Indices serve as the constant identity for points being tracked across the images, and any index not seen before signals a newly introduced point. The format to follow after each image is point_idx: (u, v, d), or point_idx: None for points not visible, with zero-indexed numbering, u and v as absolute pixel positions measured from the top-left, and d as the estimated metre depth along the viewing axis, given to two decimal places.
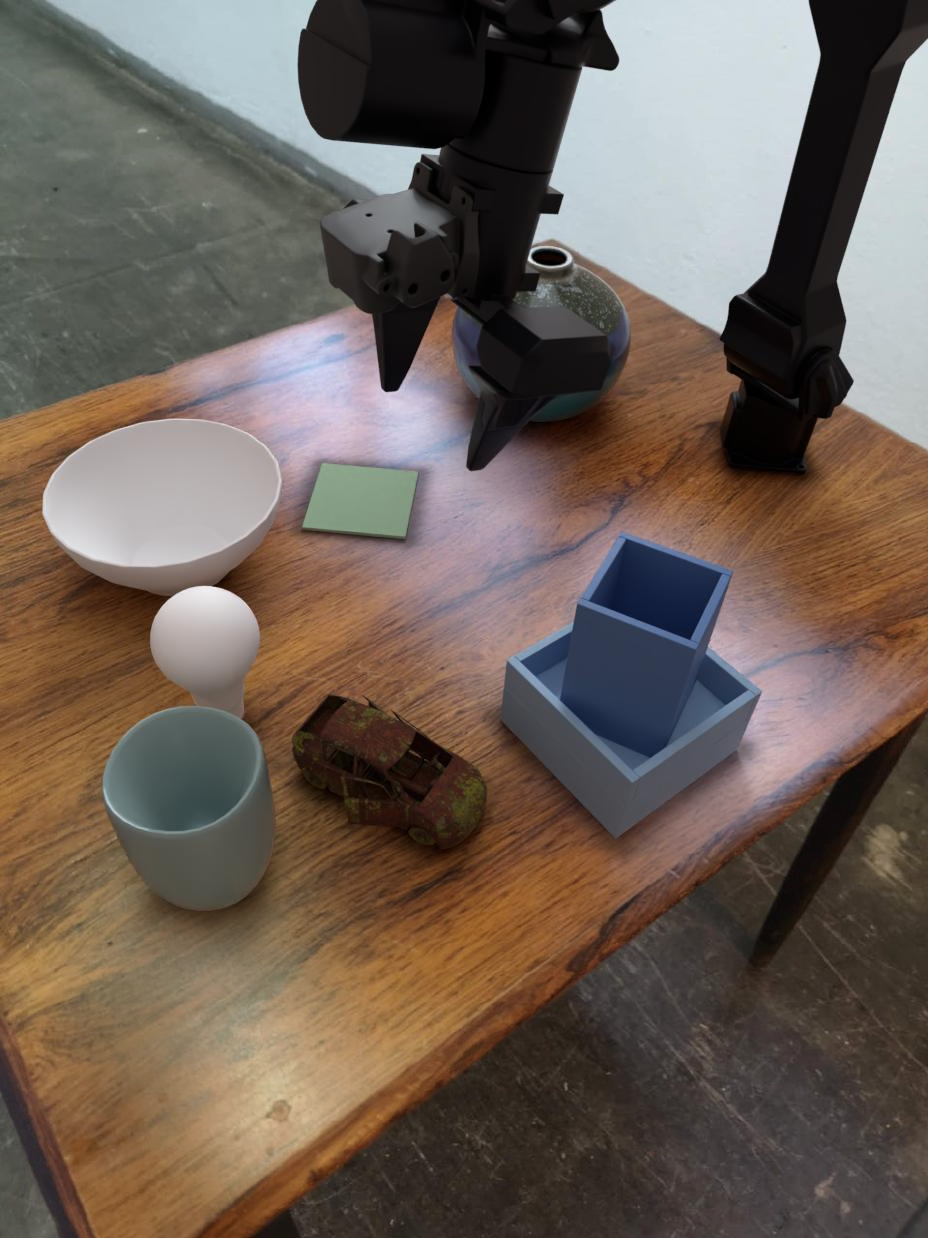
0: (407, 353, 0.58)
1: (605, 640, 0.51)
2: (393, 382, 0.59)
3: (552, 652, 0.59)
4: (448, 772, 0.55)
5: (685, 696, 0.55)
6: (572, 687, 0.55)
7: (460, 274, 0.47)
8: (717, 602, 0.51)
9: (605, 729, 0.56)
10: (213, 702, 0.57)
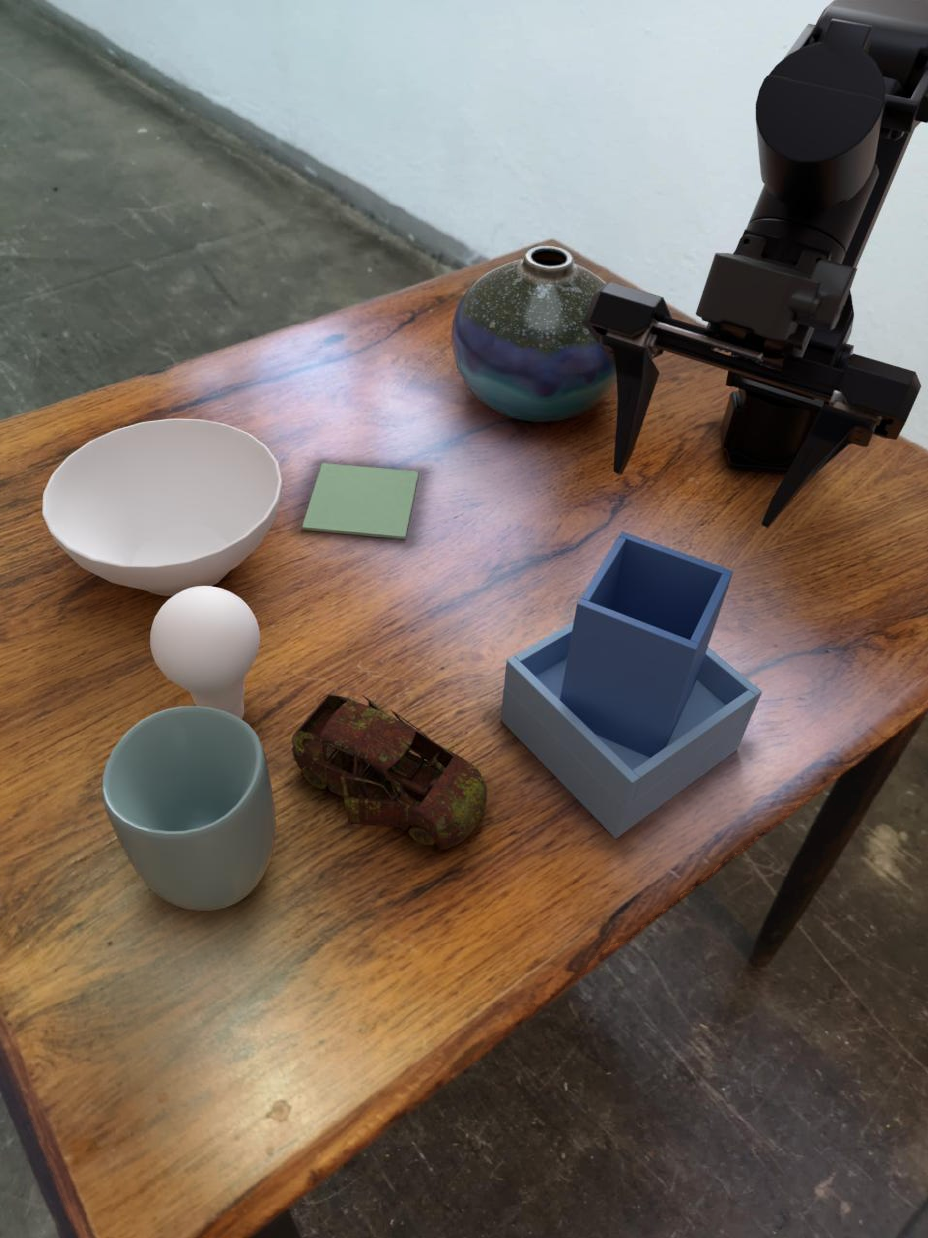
0: (635, 436, 0.58)
1: (605, 640, 0.51)
2: (624, 464, 0.58)
3: (552, 652, 0.59)
4: (448, 772, 0.55)
5: (685, 696, 0.55)
6: (572, 687, 0.55)
7: None
8: (717, 602, 0.51)
9: (605, 729, 0.56)
10: (213, 702, 0.57)
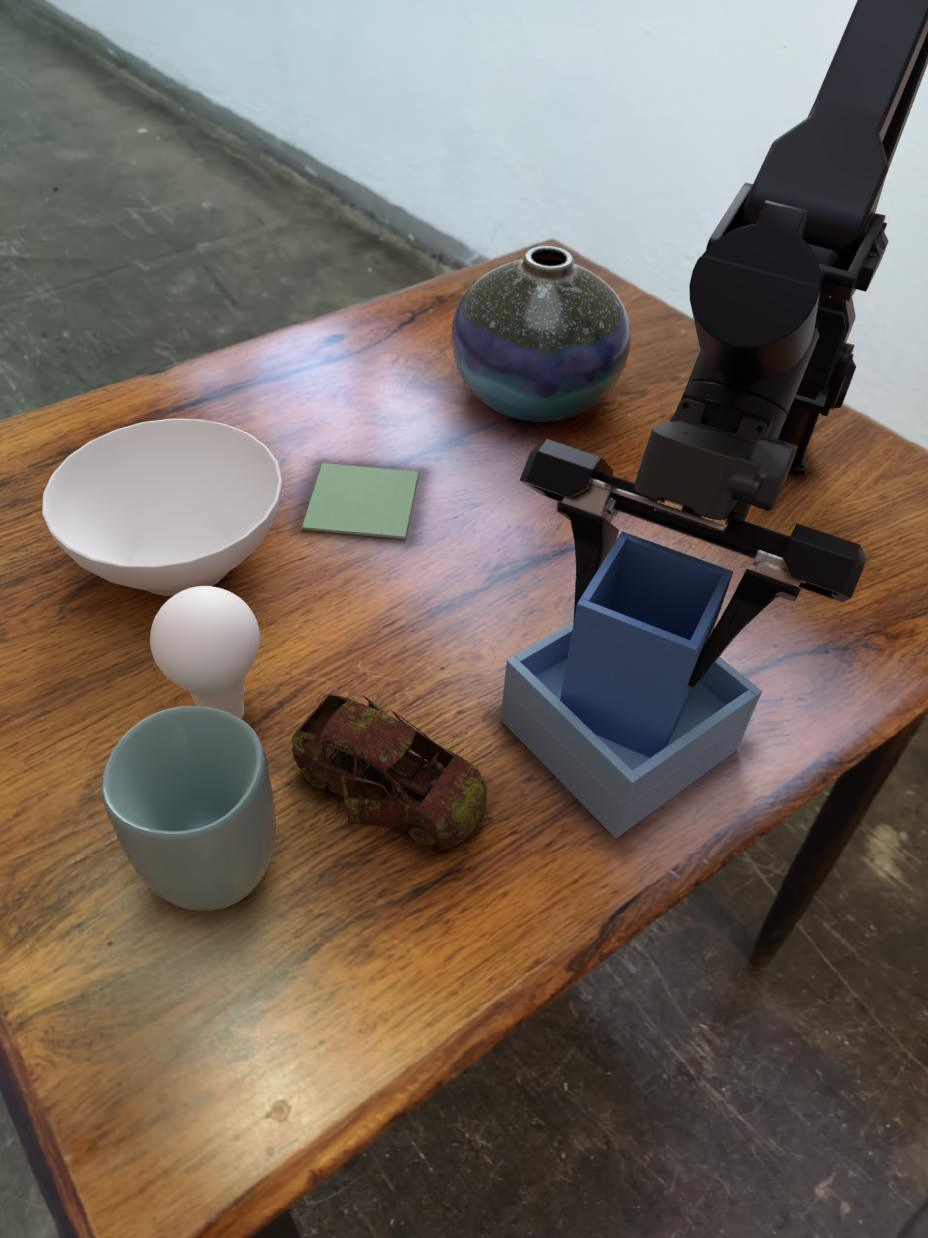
0: None
1: (605, 641, 0.51)
2: None
3: (552, 652, 0.59)
4: (448, 772, 0.55)
5: (685, 696, 0.55)
6: (572, 687, 0.55)
7: None
8: (717, 602, 0.51)
9: (605, 729, 0.56)
10: (213, 702, 0.57)
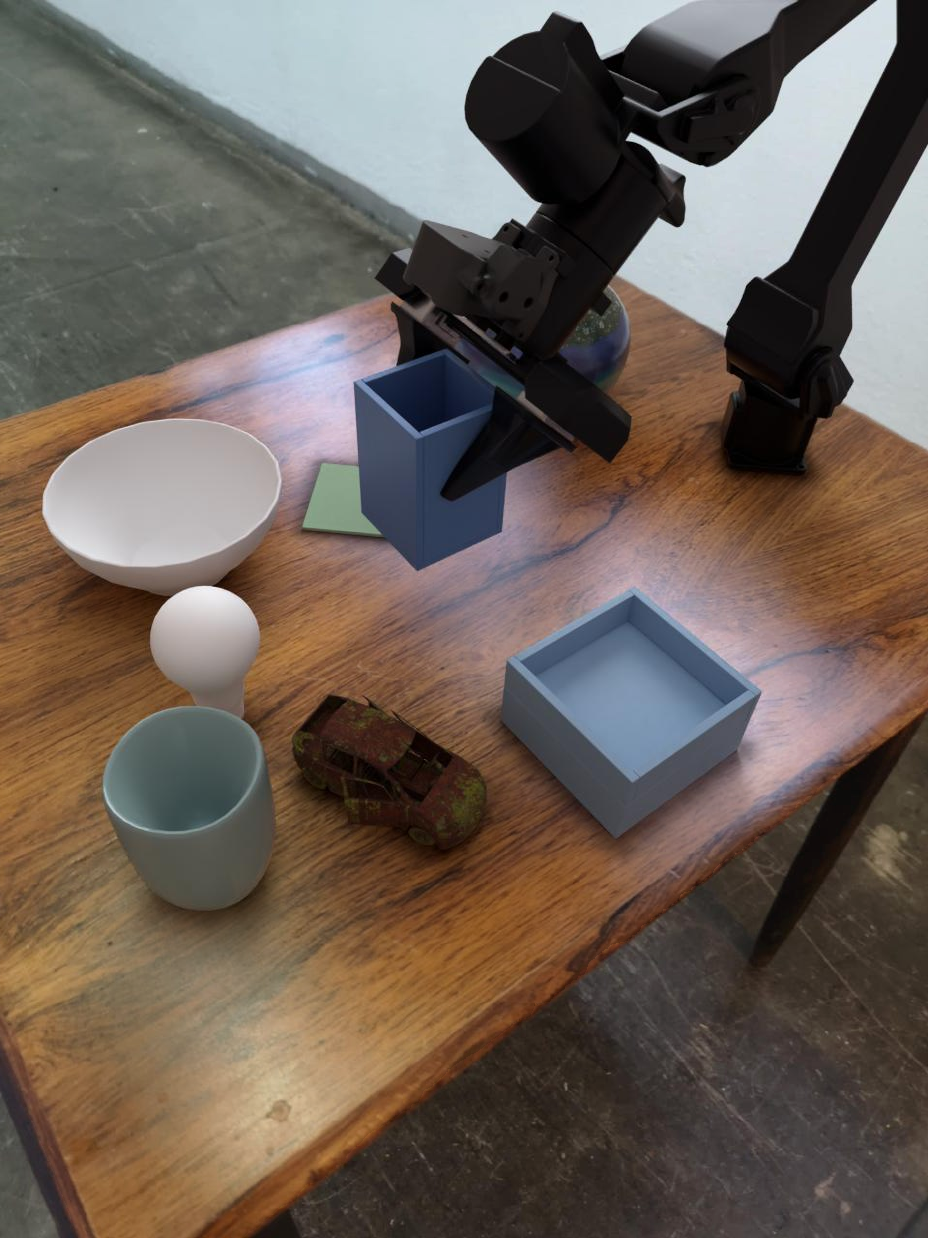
0: None
1: (371, 425, 0.55)
2: None
3: (552, 652, 0.59)
4: (448, 772, 0.55)
5: (453, 516, 0.58)
6: (363, 478, 0.60)
7: (525, 317, 0.51)
8: (472, 416, 0.53)
9: (385, 529, 0.60)
10: (213, 702, 0.57)
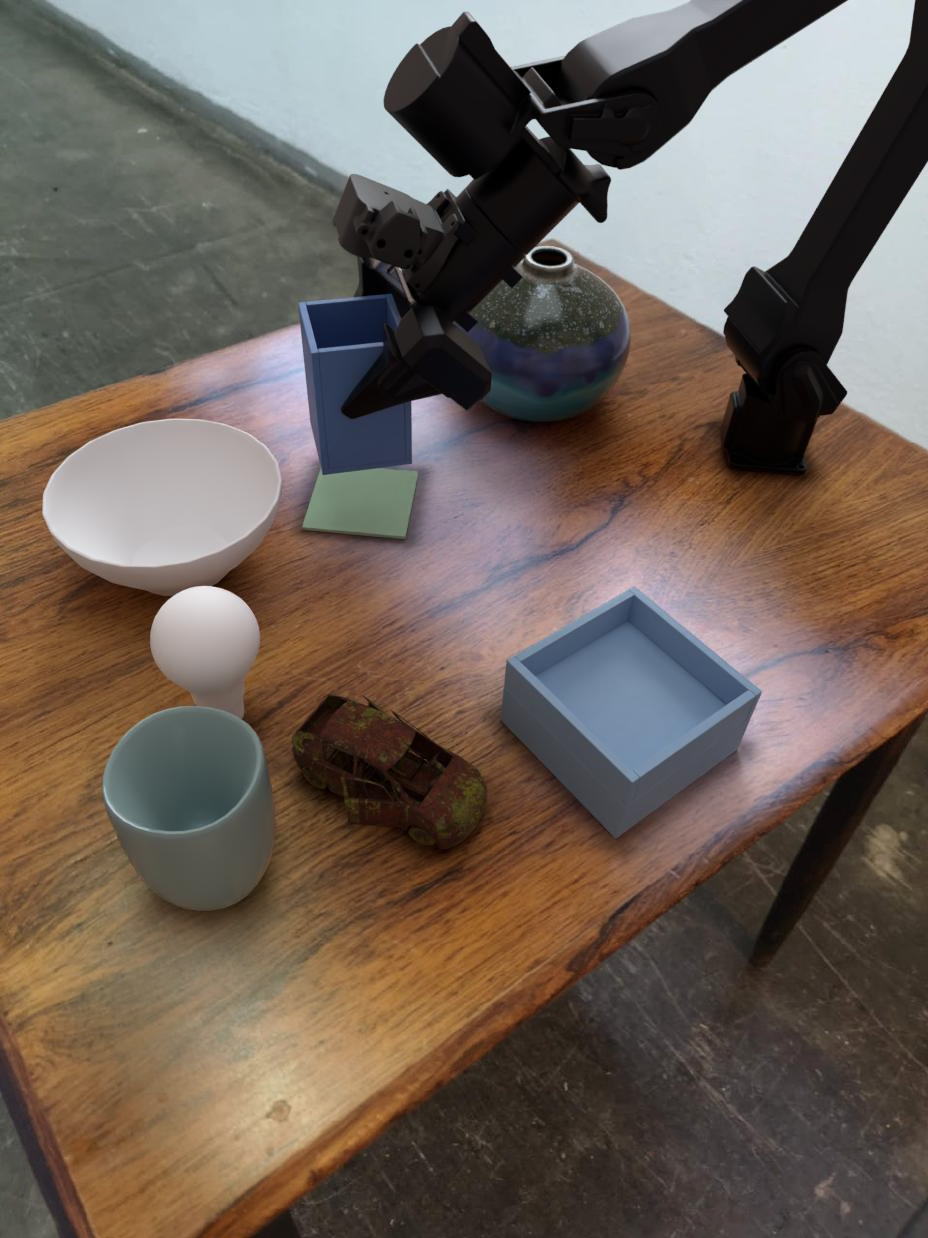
0: None
1: (303, 341, 0.66)
2: None
3: (552, 652, 0.59)
4: (448, 772, 0.55)
5: (357, 434, 0.67)
6: (307, 389, 0.70)
7: (421, 270, 0.60)
8: (368, 346, 0.62)
9: (314, 436, 0.71)
10: (213, 702, 0.57)
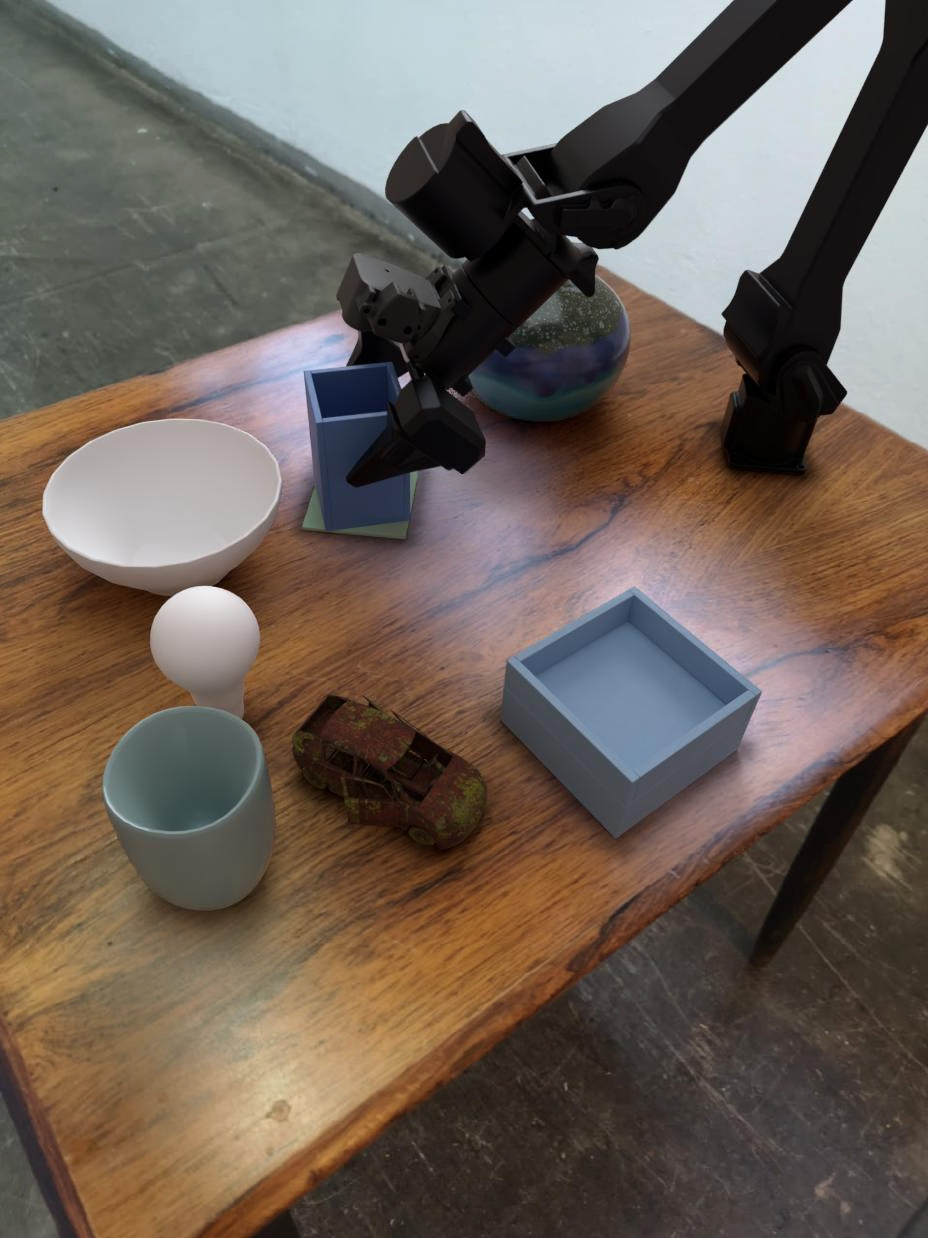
0: None
1: (309, 407, 0.70)
2: None
3: (552, 652, 0.59)
4: (448, 772, 0.55)
5: (358, 494, 0.71)
6: (311, 449, 0.74)
7: (419, 343, 0.64)
8: (370, 416, 0.66)
9: (318, 493, 0.75)
10: (213, 702, 0.57)
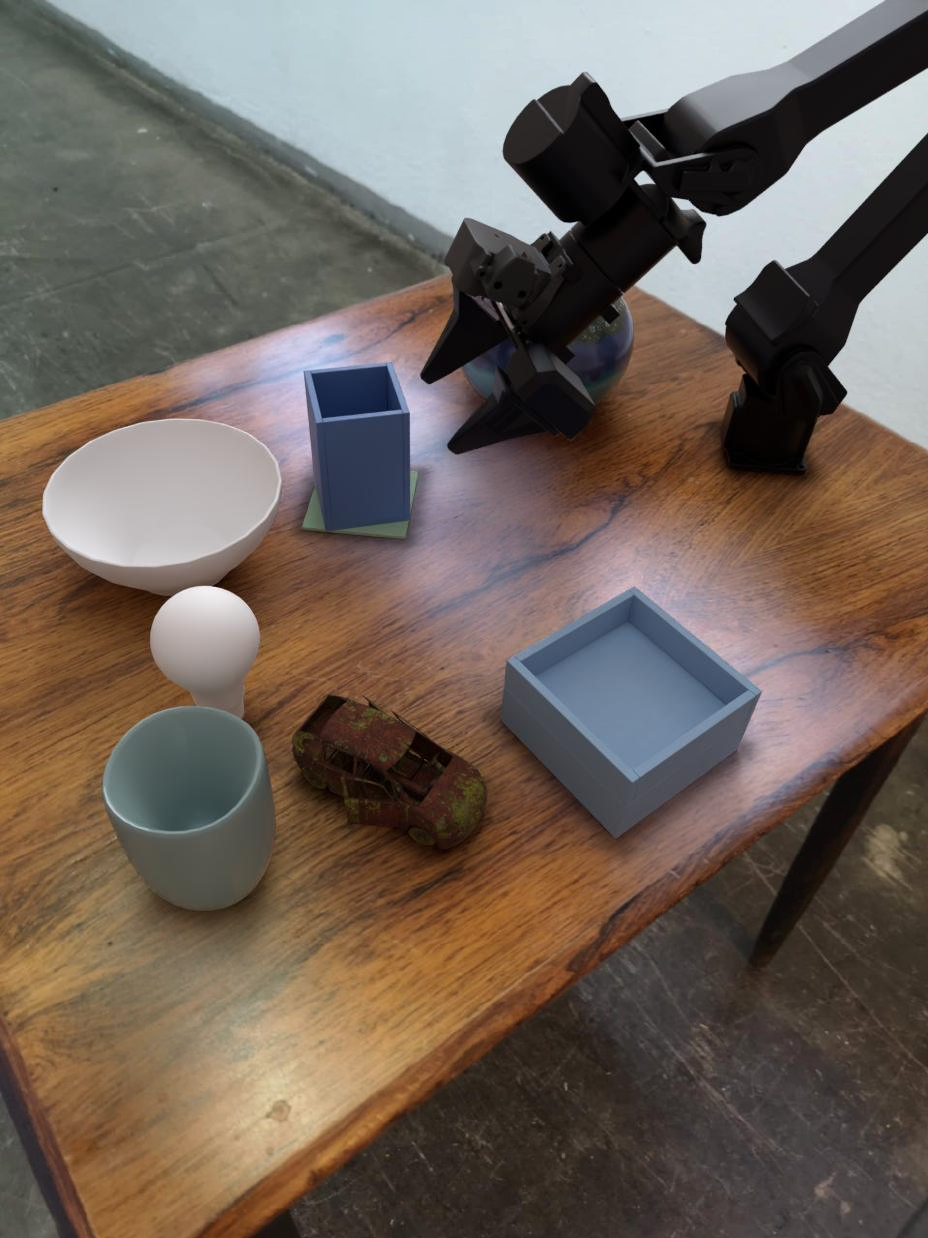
0: (452, 363, 0.74)
1: (309, 407, 0.70)
2: (430, 376, 0.74)
3: (552, 652, 0.59)
4: (448, 772, 0.55)
5: (358, 494, 0.71)
6: (311, 449, 0.74)
7: (529, 308, 0.64)
8: (370, 416, 0.66)
9: (318, 493, 0.75)
10: (213, 702, 0.57)
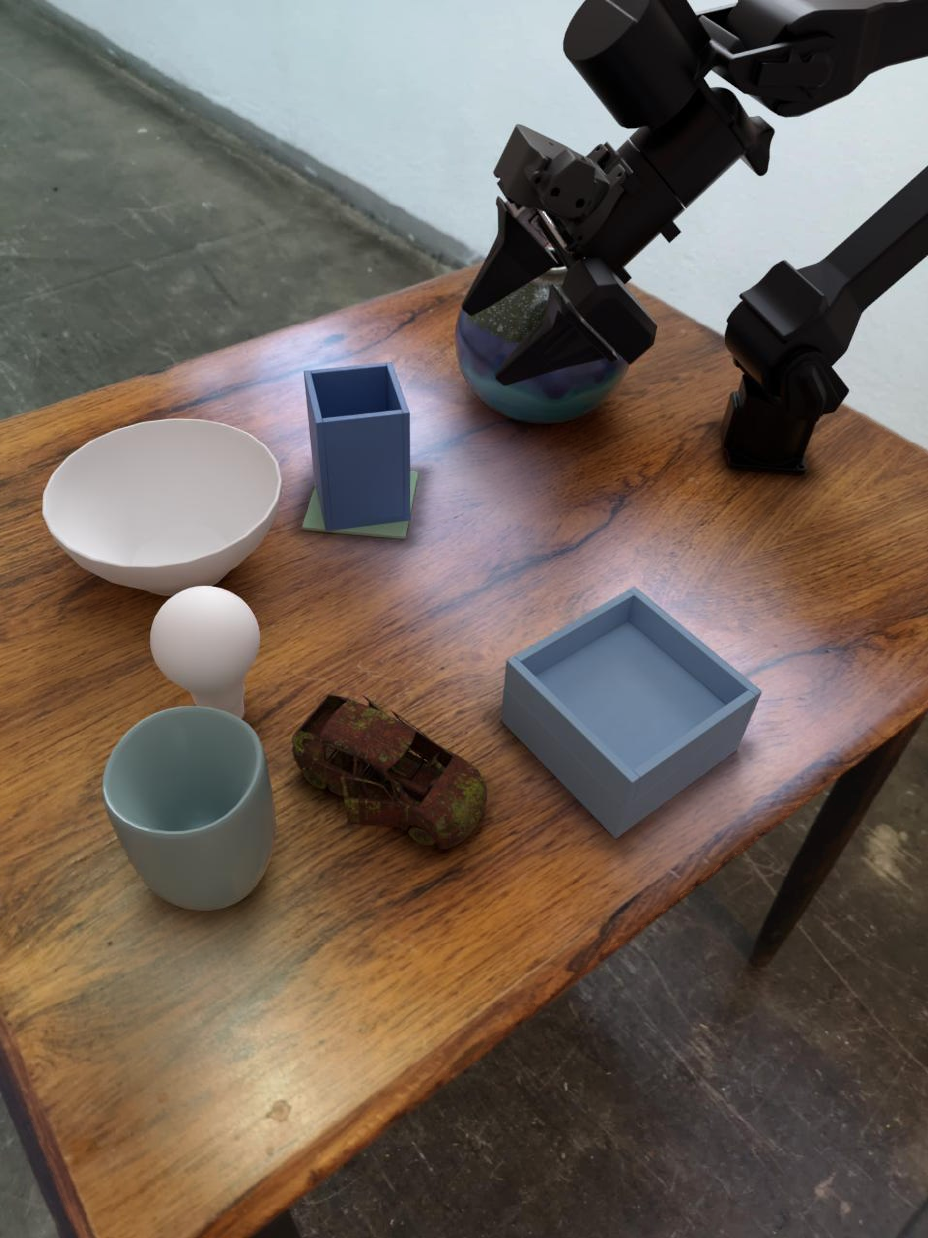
0: (496, 293, 0.70)
1: (309, 407, 0.70)
2: (472, 306, 0.70)
3: (552, 652, 0.59)
4: (448, 772, 0.55)
5: (358, 494, 0.71)
6: (311, 449, 0.74)
7: (585, 221, 0.59)
8: (370, 416, 0.66)
9: (318, 493, 0.75)
10: (213, 702, 0.57)
